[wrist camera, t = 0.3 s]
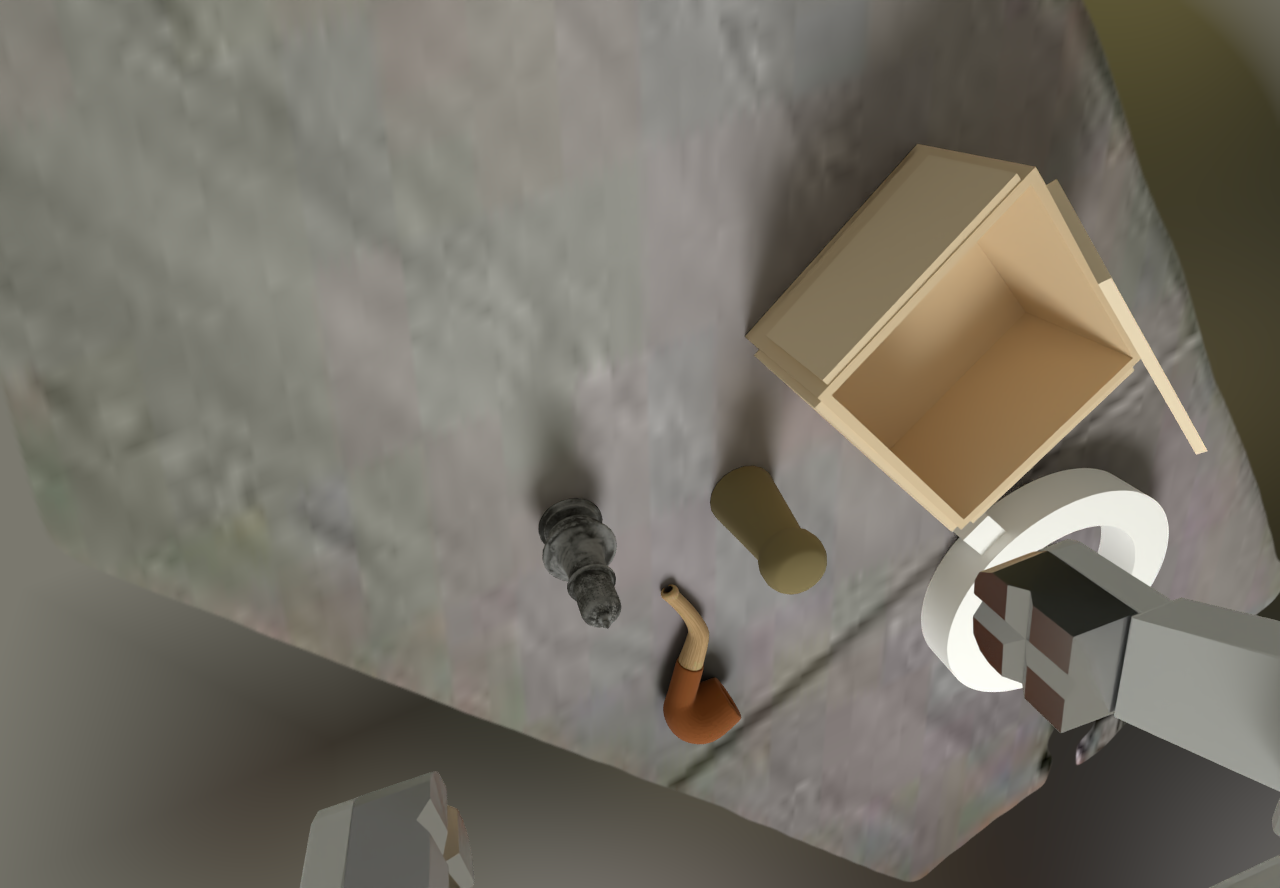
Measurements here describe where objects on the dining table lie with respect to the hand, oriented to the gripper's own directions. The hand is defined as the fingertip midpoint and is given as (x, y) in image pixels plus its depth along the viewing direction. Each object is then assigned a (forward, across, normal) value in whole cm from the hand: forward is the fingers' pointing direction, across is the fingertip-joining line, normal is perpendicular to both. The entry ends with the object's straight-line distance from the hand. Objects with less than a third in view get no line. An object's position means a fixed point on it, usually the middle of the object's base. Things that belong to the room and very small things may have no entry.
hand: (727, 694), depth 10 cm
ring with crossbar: (+45, -48, +50) cm, 83 cm away
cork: (+42, -15, +26) cm, 51 cm away
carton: (+41, -29, +13) cm, 52 cm away
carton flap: (+29, -37, +9) cm, 48 cm away
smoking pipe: (+44, -6, +42) cm, 61 cm away
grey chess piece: (+42, 0, +23) cm, 47 cm away
